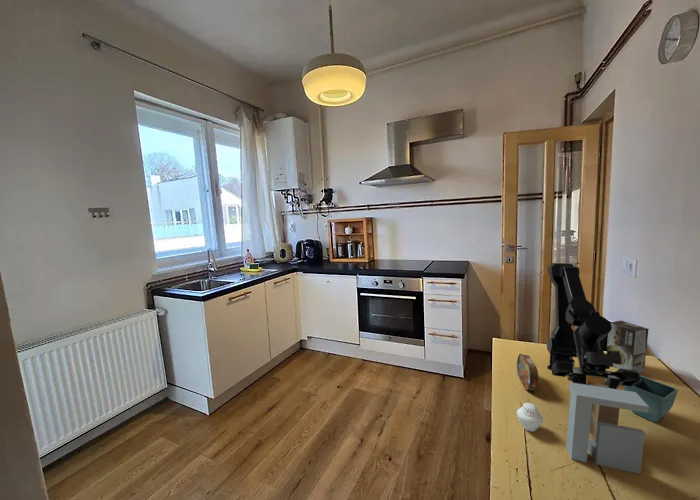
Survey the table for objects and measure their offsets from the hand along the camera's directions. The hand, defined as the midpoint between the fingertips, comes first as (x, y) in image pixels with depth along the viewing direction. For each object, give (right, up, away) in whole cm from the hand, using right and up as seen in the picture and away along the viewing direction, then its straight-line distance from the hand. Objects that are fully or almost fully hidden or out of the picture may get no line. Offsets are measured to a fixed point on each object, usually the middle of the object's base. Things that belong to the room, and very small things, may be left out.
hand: (600, 406), depth 79 cm
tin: (-5, -5, +25) cm, 26 cm away
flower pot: (+20, -6, +8) cm, 22 cm away
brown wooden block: (0, -7, 0) cm, 7 cm away
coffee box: (+36, -3, +33) cm, 49 cm away
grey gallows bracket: (-5, -9, -6) cm, 12 cm away
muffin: (-16, -8, +4) cm, 19 cm away
